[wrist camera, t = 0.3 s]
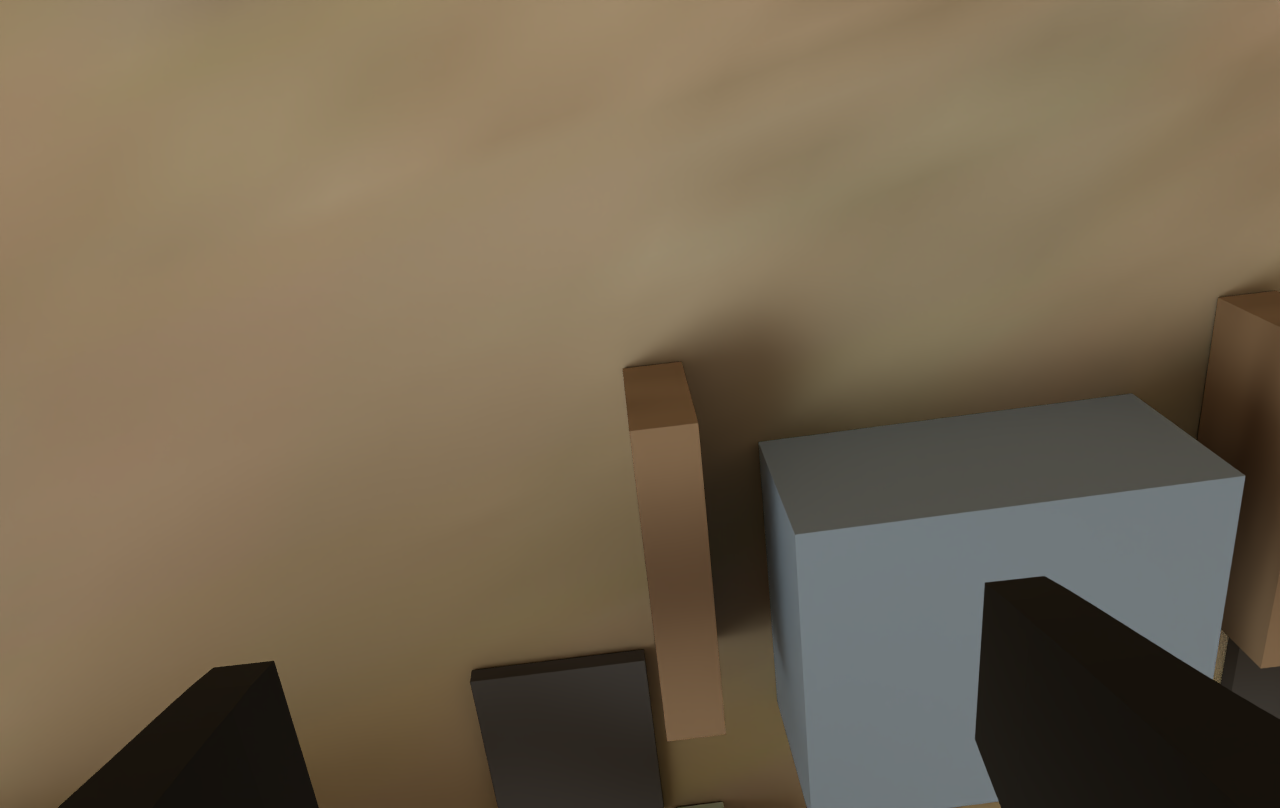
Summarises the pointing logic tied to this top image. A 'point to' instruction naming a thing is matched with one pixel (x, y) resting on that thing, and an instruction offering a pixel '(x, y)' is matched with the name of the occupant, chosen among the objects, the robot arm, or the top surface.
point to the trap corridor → (685, 613)
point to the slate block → (971, 573)
